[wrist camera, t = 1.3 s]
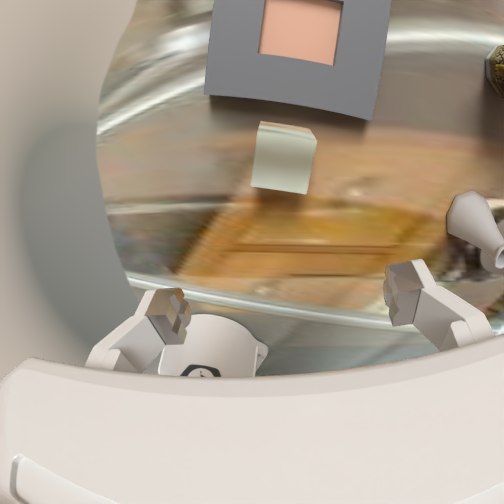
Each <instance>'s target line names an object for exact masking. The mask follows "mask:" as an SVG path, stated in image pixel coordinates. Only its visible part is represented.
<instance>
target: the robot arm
mask: <svg viewBox="0 0 504 504" xmlns="http://www.w3.org/2000/svg"><path fill="white" fill-rule="evenodd" d="M385 276H386V280H385V281H384V284H383V293H384V299H385V303H386V305H387V306H388V307H389V308H390V309H389V316H390V319H391V322H392V326H400V325H407V324H413V325H414V326H415V327H416V328H417V329H418V330H419V331H420V332H421V333H422V334H423V335H424V336H425V337H426V338H428V339H429V340H430V341H431V342H432V343H433V344H434V345H435V346H436V347H437V348H438V349H439V350H440V352H438V353H433V354H429V355H425V356H420V357H415V358H410V359H405V360H400V361H395V362H389V363H384V364H378V365H371V366H365V367H358V368H351V369H343V370H335V371H326V372H316V373H305V374H293V375H277V376H255V372H256V371H257V369H258V368H259V366H260V365H261V363H262V362H263V360H264V359H265V357H266V356H267V354H268V349H269V348H268V347H267V346H266V345H265V344H263V343H261V342H259V341H258V340H256V339H255V338H254V337H253V336H252V334H251V333H250V332H249V331H248V330H247V329H246V328H245V327H243V326H242V325H240V324H239V323H237V322H235V321H233V320H230V319H228V318H225V317H221V316H216V315H209V314H197V315H191V308H190V305H189V303H188V302H187V301H185V300H184V299H183V297H184V293H183V291H182V289H180V288H165V289H150V290H147V291H146V292H145V294H144V296H143V298H142V300H141V302H140V304H139V307H138V308H137V311H136V313H135V315H134V316H131V317H130V318H129V319H127V320H126V321H125V322H123V323H122V324H121V325H120V326H118V327H117V328H116V329H115V330H114V331H113V332H111V333H110V334H109V335H107V336H106V337H105V338H104V339H103V340H101V341H100V342H99V343H98V344H96V345H95V346H94V347H93V349H92V352H91V353H90V356H89V358H88V360H87V362H86V364H85V366H84V367H83V366H76V365H71V364H65V363H59V362H54V361H48V360H44V359H40V358H36V357H30V358H28V359H26V360H25V361H23V362H21V363H20V364H19V365H18V366H16V367H15V368H14V369H12V370H11V371H10V372H9V373H8V374H7V375H6V376H5V377H4V379H3V380H2V381H1V383H0V504H504V334H501V335H498V336H495V335H494V333H493V331H492V329H491V327H490V325H489V323H488V321H487V319H486V317H485V315H484V313H482V312H481V311H479V310H478V309H476V308H475V307H473V306H472V305H470V304H469V303H467V302H466V301H464V300H462V299H461V298H459V297H458V296H456V295H455V294H453V293H451V292H450V291H448V290H447V289H445V288H443V287H442V286H437V285H436V283H435V281H434V279H433V277H432V275H431V273H430V272H429V270H428V268H427V266H426V264H425V263H424V261H423V260H422V259H417V260H411V261H407V262H400V263H393V264H386V266H385ZM162 350H163V352H162V356H161V360H160V364H159V368H158V373H159V374H160V375H154V374H141V373H142V372H143V371H144V370H145V369H146V368H147V367H148V366H149V364H150V363H151V362H152V361H153V360H154V359H155V358H156V357H157V355H158V354H159V353H160V352H161V351H162Z"/></svg>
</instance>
